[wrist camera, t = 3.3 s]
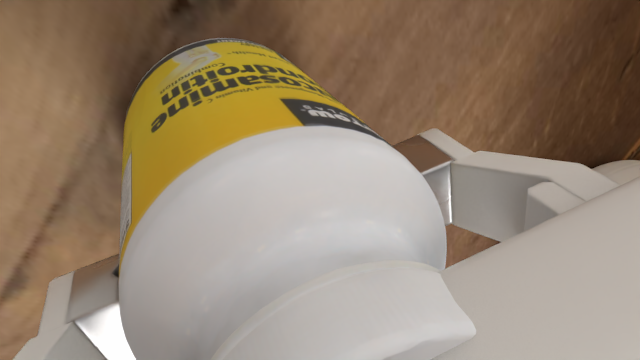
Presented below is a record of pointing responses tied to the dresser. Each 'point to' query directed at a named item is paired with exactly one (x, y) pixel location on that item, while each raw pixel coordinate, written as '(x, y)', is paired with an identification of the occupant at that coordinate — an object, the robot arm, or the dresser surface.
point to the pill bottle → (272, 221)
